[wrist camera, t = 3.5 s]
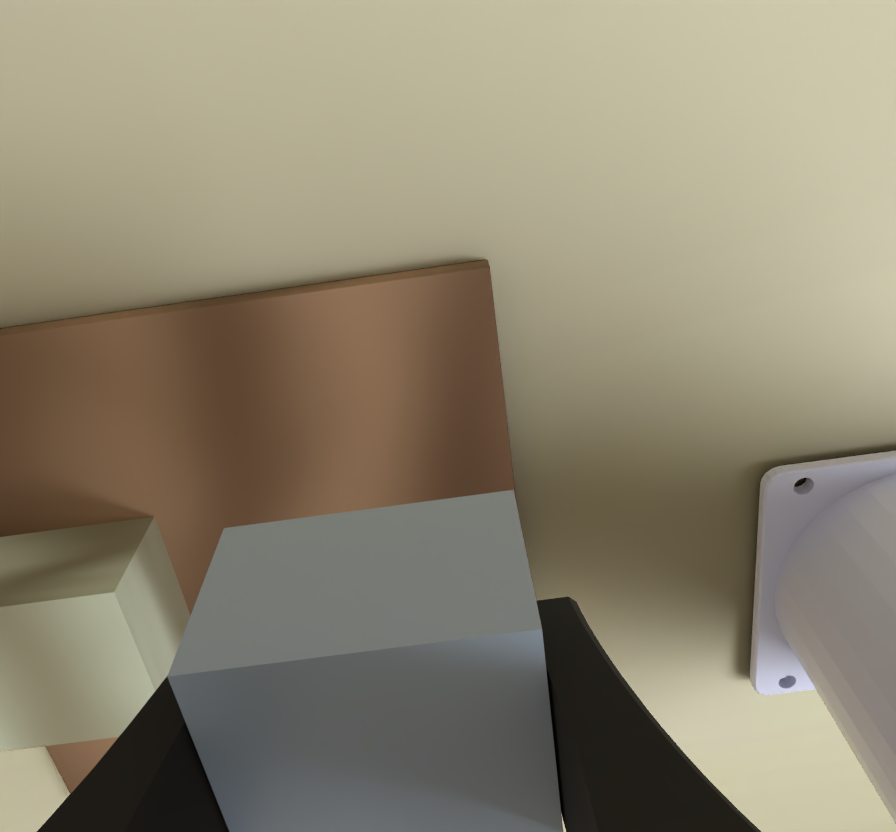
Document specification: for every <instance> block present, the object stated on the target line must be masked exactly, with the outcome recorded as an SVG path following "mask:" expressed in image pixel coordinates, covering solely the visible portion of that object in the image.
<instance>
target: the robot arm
mask: <svg viewBox="0 0 896 832" xmlns="http://www.w3.org/2000/svg"><path fill="white" fill-rule="evenodd" d="M802 478H807V480H806V482H805V483H804V484H802V485H801V486H798V487H794V485H795V483H796V482H797V481H798V480H799V479H802ZM536 602H537V606H538V611H539V616H540V621H541V626H542V633H543V642H544V652H545V662H546V671H547V681H548V691H549V700H550V710H551V720H552V729H553V739H554V749H555V758H556V768H557V778H558V787H559V797H560V807H561V813H562V817H563V821H564V824H565V828H566V832H761V831H760V830H759V829H758V828H757V827H756V826H755V825H754V824H752V823H751V822H750V821H749V820H748V819H747V818H746V817H745V816H744V815H743V814H742V813H741V812H740V811H739V810H738V809H737V808H736V807H735V806H734V805H733V804H732V803H731V802H730V801H729V800H728V799H727V798H726V797H725V796H724V795H723V794H722V793H721V792H720V791H719V790H718V789H717V788H716V787H715V786H714V785H713V784H712V783H711V782H710V781H709V780H708V779H707V778H706V777H705V775H704V774H703V773H702V772H701V771H700V770H699V769H698V768H697V767H696V766H695V765H694V764H693V762H692V761H691V760H690V759H689V758H688V757H687V756H686V755H685V754H684V752H683V751H682V750H681V749H680V748H679V747H678V746H677V744H676V743H675V742H674V741H673V740H672V739H671V737H670V736H669V735H668V734H667V733H666V732H665V730H664V729H663V728H662V727H661V726H660V724H659V723H658V722H657V721H656V719H655V718H654V717H653V716H652V715H651V713H650V712H649V711H648V710H647V708H646V707H645V706H644V704H643V703H642V702H641V700H640V699H639V698H638V697H637V695H636V694H635V693H634V691H633V690H632V689H631V687H630V686H629V685H628V683H627V682H626V681H625V679H624V678H623V677H622V675H621V674H620V673H619V671H618V670H617V668H616V667H615V666H614V664H613V663H612V661H611V660H610V658H609V657H608V655H607V654H606V652H605V651H604V649H603V648H602V646H601V645H600V643H599V642H598V640H597V638H596V637H595V635H594V634H593V632H592V630H591V629H590V627H589V625H588V623H587V622H586V620H585V618H584V616H583V614H582V613H581V611H580V609H579V606H578V604H577V602H576V601H574V600H573V599H571V598H570V597H563V598H555V599H547V600H539V601H536ZM785 676H787V677H785ZM783 677H785V678H783ZM781 678H782V679H781ZM750 681H751V683H752V685H753V687H754V689H755V690H756V691H757V692H758V693H760V694H762V695H773V694H782V693H790V692H798V691H806V690H814V689H816V690H817V692H818V694H819V695H820V697H821V699H822V700H823V702H824V704H825V705H826V707H827V709H828V710H829V712H830V714H831V715H832V717H833V719H834V721H835V722H836V724H837V726H838V727H839V729H840V731H841V732H842V734H843V736H844V737H845V739H846V741H847V742H848V744H849V746H850V747H851V749H852V751H853V752H854V754H855V756H856V758H857V759H858V761H859V763H860V764H861V766H862V768H863V769H864V771H865V773H866V774H867V776H868V778H869V779H870V781H871V783H872V784H873V786H874V788H875V789H876V791H877V793H878V795H879V796H880V798H881V800H882V801H883V803H884V805H885V806H886V808H887V810H888V811H889V813H890V815H891V816H892V818H893V820H894V821H895V823H896V451H889V452H881V453H873V454H866V455H858V456H851V457H843V458H836V459H828V460H820V461H813V462H805V463H798V464H790V465H783V466H778V467H775V468H772V469H771V470H769V471H768V472H766V474H765V475H764V476H763V477H762V480H761V483H760V498H759V516H758V535H757V553H756V571H755V590H754V608H753V627H752V645H751V663H750ZM37 832H229V829H228V827H227V824H226V822H225V819H224V817H223V814H222V812H221V809H220V807H219V804H218V802H217V799H216V797H215V795H214V792H213V790H212V787H211V785H210V782H209V780H208V777H207V775H206V772H205V770H204V767H203V765H202V762H201V760H200V757H199V755H198V752H197V750H196V747H195V745H194V742H193V740H192V737H191V735H190V732H189V730H188V727H187V725H186V722H185V720H184V717H183V715H182V712H181V710H180V707H179V705H178V702H177V700H176V697H175V695H174V692H173V690H172V687H171V685H170V682H169V680H168V677H166V678H165V679H164V681H163V682H162V683H161V684H160V686H159V687H158V688H157V690H156V691H155V692H154V693H153V695H152V696H151V697H150V698H149V700H148V701H147V702H146V704H145V705H144V706H143V707H142V709H141V710H140V711H139V712H138V714H137V715H136V716H135V718H134V719H133V720H132V721H131V723H130V724H129V725H128V726H127V728H126V729H125V730H124V731H123V732H122V734H121V735H120V736H119V737H118V739H117V740H116V741H115V742H114V743H113V745H112V746H111V747H110V748H109V750H108V751H107V752H106V753H105V754H104V756H103V757H102V758H101V759H100V761H99V762H98V763H97V764H96V765H95V767H94V768H93V769H92V770H91V771H90V773H89V774H88V775H87V776H86V777H85V778H84V779H83V780H82V782H81V783H80V784H79V785H78V786H77V787H76V788H75V790H74V791H73V792H72V793H71V794H70V795H69V796H68V797H67V799H66V800H65V801H64V802H63V803H62V804H61V805H60V807H59V808H58V809H57V810H56V811H55V812H54V813H53V815H52V816H51V817H50V818H49V819H48V820H47V821H46V822H45V824H44V825H43V826H42V827H41V828H40V829H39V830H38V831H37Z"/></svg>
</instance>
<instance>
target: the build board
mask: <svg viewBox="0 0 896 832" xmlns="http://www.w3.org/2000/svg"><path fill="white" fill-rule="evenodd" d="M508 490H514V494H515V487H514V478H513V469H512V461H511V452H510V443H509V434H508V425H507V416H506V408H505V399H504V390H503V381H502V372H501V363H500V355H499V346H498V337H497V328H496V319H495V310H494V302H493V293H492V284H491V275H490V267H489V263H488V260H482V261H475V262H468V263H461V264H454V265H447V266H440V267H433V268H426V269H419V270H412V271H404V272H397V273H390V274H383V275H376V276H369V277H362V278H355V279H348V280H341V281H334V282H327V283H320V284H313V285H305V286H298V287H291V288H284V289H277V290H270V291H263V292H256V293H249V294H242V295H235V296H228V297H221V298H214V299H206V300H199V301H192V302H185V303H178V304H171V305H164V306H157V307H150V308H143V309H136V310H129V311H122V312H115V313H108V314H100V315H93V316H86V317H79V318H72V319H65V320H58V321H51V322H44V323H37V324H30V325H23V326H16V327H9V328H1V329H0V752H2V751H10V750H18V749H26V748H34V747H42V746H46V748H47V750H48V752H49V754H50V756H51V757H52V759H53V761H54V763H55V765H56V767H57V769H58V771H59V773H60V775H61V776H62V778H63V780H64V782H65V784H66V786H67V788H68V790H69V792H70V794H71V793H72V792H73V791H74V790H75V788H76V787H77V786H78V785H79V784H80V783H81V782H82V780H83V779H84V778H85V777H86V776H87V775H88V774H89V773H90V771H91V770H92V769H93V768H94V767H95V765H96V764H97V763H98V762H99V761H100V759H101V758H102V757H103V756H104V754H105V753H106V752H107V751H108V750H109V748H110V747H111V746H112V745H113V743H114V742H115V741H116V740H117V739H118V737H119V736H120V735H121V734H122V732H123V731H124V730H125V729H126V728H127V726H128V725H129V724H130V723H131V721H132V720H133V719H134V718H135V716H136V715H137V714H138V712H139V711H140V710H141V709H142V707H143V706H144V705H145V704H146V702H147V701H148V700H149V698H150V697H151V696H152V695H153V693H154V692H155V691H156V690H157V688H158V687H159V686H160V684H161V683H162V682H163V681H164V679H165V678H166V677H167V676H168V673H169V671H170V668H171V665H172V663H173V660H174V658H175V655H176V652H177V650H178V647H179V645H180V642H181V639H182V637H183V634H184V631H185V629H186V626H187V624H188V621H189V618H190V616H191V613H192V610H193V608H194V605H195V603H196V600H197V597H198V595H199V592H200V590H201V587H202V584H203V582H204V579H205V576H206V574H207V571H208V569H209V566H210V563H211V561H212V558H213V555H214V553H215V550H216V548H217V545H218V542H219V540H220V537H221V535H222V532H223V529H224V528H229V527H237V526H244V525H252V524H259V523H267V522H274V521H282V520H289V519H297V518H305V517H312V516H320V515H327V514H335V513H342V512H350V511H357V510H365V509H373V508H380V507H388V506H395V505H403V504H410V503H418V502H425V501H433V500H441V499H448V498H456V497H463V496H471V495H478V494H486V493H493V492H501V491H508ZM515 499H516V496H515Z"/></svg>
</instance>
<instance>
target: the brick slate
mask: <svg viewBox="0 0 896 832" xmlns="http://www.w3.org/2000/svg"><path fill="white" fill-rule="evenodd" d="M167 677H168V680H169V682H170V685H171V687H172V690H173V692H174V695H175V697H176V700H177V702H178V705H179V707H180V710H181V712H182V715H183V717H184V720H185V722H186V725H187V727H188V730H189V732H190V735H191V737H192V740H193V742H194V745H195V747H196V750H197V752H198V755H199V757H200V760H201V762H202V765H203V767H204V770H205V772H206V775H207V777H208V780H209V782H210V785H211V787H212V790H213V792H214V795H215V797H216V799H217V802H218V804H219V807H220V809H221V812H222V814H223V817H224V819H225V822H226V824H227V827H228V829H229V832H563V826H562V816H561V807H560V797H559V787H558V778H557V768H556V758H555V749H554V739H553V729H552V720H551V710H550V700H549V691H548V681H547V671H546V662H545V652H544V642H543V633H542V626H541V621H540V616H539V611H538V606H537V602H536V597H535V592H534V587H533V582H532V577H531V572H530V567H529V563H528V558H527V553H526V548H525V543H524V538H523V533H522V529H521V524H520V519H519V514H518V509H517V504H516V499H515V494H514V490H508V491H501V492H493V493H486V494H478V495H471V496H463V497H456V498H448V499H441V500H433V501H425V502H418V503H410V504H403V505H395V506H388V507H380V508H373V509H365V510H357V511H350V512H342V513H335V514H327V515H320V516H312V517H305V518H297V519H289V520H282V521H274V522H267V523H259V524H252V525H244V526H237V527H229V528H224V529H223V532H222V535H221V537H220V540H219V542H218V545H217V548H216V550H215V553H214V555H213V558H212V561H211V563H210V566H209V569H208V571H207V574H206V576H205V579H204V582H203V584H202V587H201V590H200V592H199V595H198V597H197V600H196V603H195V605H194V608H193V610H192V613H191V616H190V618H189V621H188V624H187V626H186V629H185V631H184V634H183V637H182V639H181V642H180V645H179V647H178V650H177V652H176V655H175V658H174V660H173V663H172V665H171V668H170V671H169V673H168V676H167Z"/></svg>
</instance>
